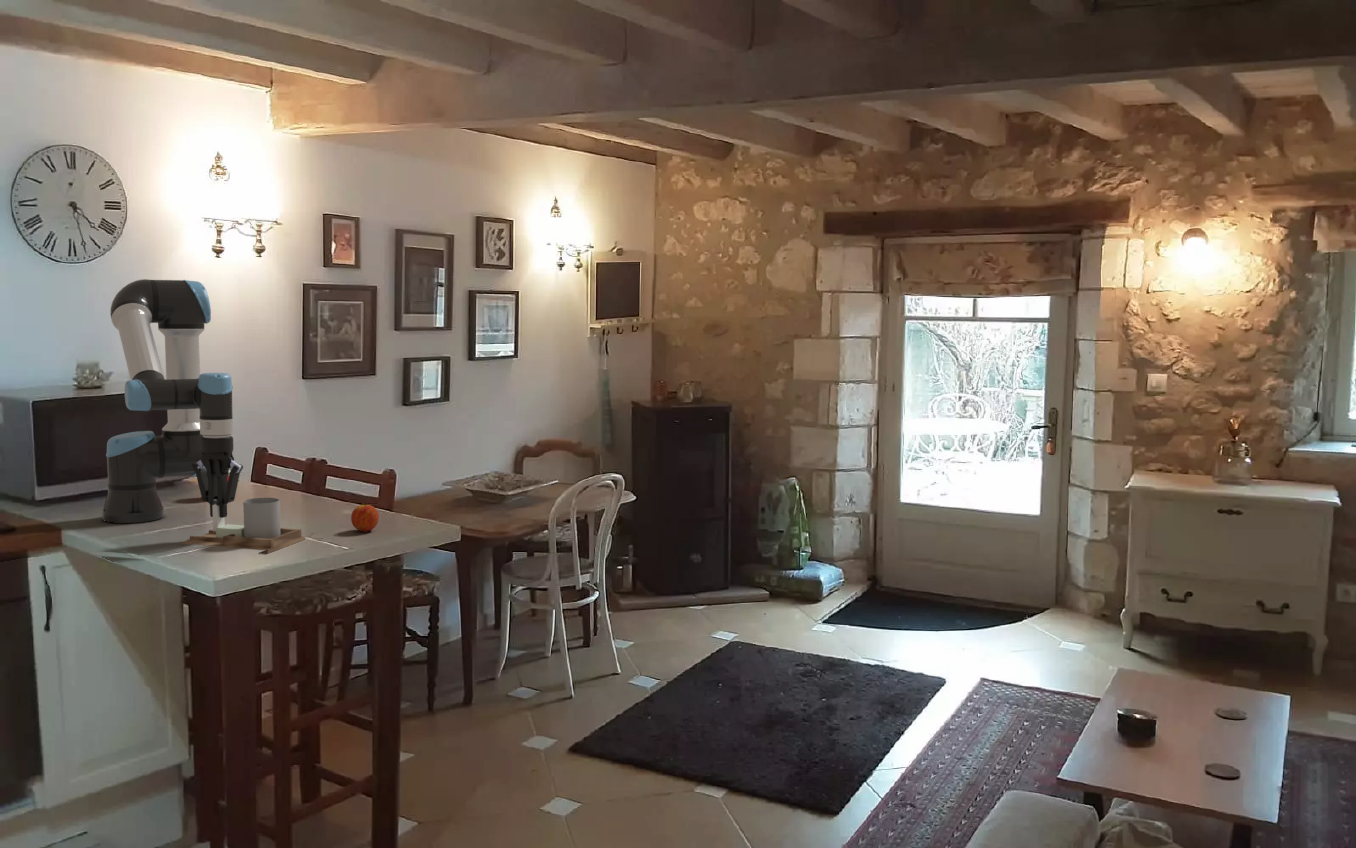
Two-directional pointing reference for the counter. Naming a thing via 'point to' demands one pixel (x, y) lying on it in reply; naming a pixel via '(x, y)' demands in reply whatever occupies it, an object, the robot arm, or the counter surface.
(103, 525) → the counter surface
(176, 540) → the counter surface
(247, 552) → the counter surface
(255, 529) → the cup
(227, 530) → the pale green block
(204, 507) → the counter surface
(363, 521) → the fruit
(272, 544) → the jig
